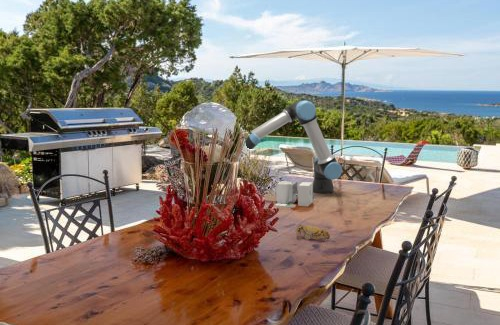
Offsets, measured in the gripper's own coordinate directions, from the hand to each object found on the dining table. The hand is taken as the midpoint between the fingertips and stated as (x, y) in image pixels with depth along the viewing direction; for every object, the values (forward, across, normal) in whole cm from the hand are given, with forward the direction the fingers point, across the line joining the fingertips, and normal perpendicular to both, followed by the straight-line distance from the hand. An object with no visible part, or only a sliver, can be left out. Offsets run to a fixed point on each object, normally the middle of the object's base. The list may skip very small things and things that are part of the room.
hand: (274, 193), depth 280 cm
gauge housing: (+13, +3, +6) cm, 14 cm away
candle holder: (+8, 0, 0) cm, 8 cm away
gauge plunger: (+14, +3, +8) cm, 16 cm away
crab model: (+30, +65, +22) cm, 75 cm away
